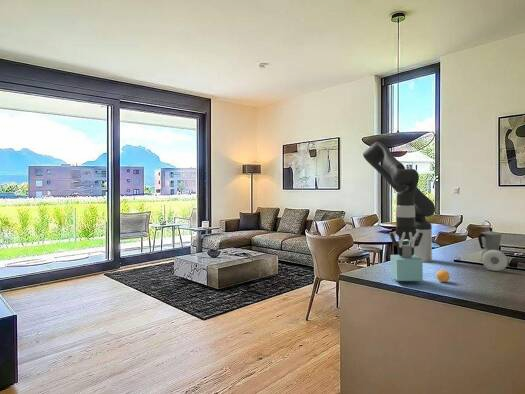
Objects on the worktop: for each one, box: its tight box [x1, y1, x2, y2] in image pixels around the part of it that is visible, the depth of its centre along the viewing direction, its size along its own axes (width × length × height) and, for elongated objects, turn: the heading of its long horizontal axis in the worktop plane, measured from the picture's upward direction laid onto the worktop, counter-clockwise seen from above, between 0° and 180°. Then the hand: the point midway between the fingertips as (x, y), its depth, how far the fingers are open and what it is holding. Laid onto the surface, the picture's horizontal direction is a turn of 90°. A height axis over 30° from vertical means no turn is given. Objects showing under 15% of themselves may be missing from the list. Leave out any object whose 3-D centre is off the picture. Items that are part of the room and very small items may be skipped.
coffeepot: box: [477, 227, 503, 264], centre depth 181 cm, size 15×9×18 cm, turn 110°
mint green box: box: [389, 244, 424, 282], centre depth 149 cm, size 10×10×14 cm
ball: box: [436, 269, 451, 283], centre depth 148 cm, size 5×5×5 cm
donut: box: [482, 250, 508, 272], centre depth 164 cm, size 10×4×10 cm, turn 50°
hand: (405, 255), depth 149 cm, fingers closed on mint green box, 3 cm apart
